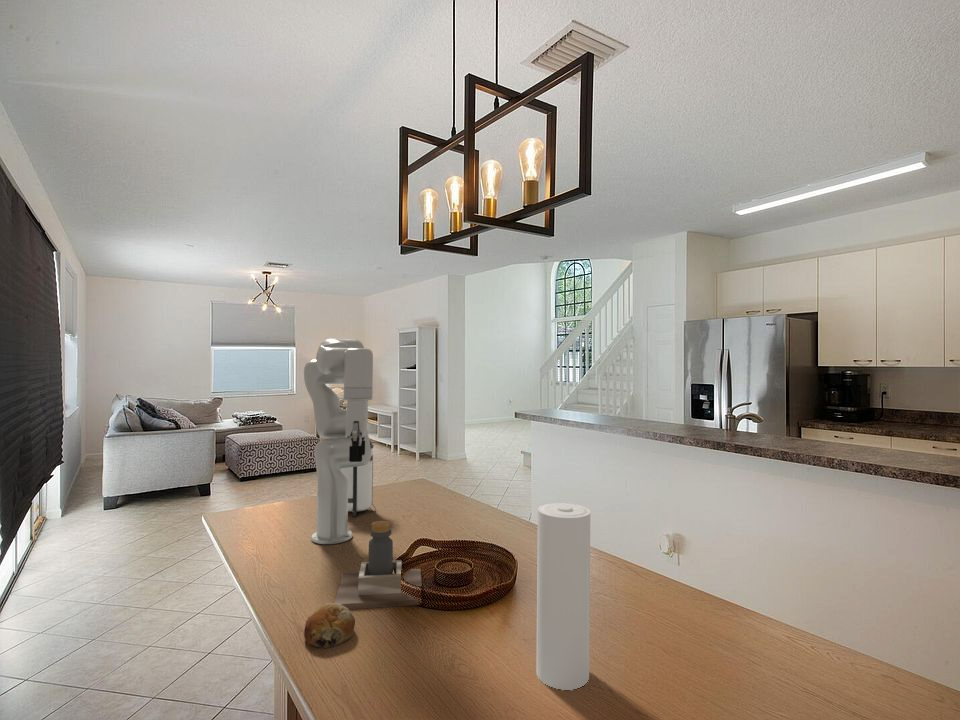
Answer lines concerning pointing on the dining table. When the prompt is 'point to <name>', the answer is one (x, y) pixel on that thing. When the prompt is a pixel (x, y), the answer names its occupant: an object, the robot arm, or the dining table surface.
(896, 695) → the dining table surface
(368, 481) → the coffee press
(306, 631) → the bread roll
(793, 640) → the dining table surface
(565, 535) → the cylinder container
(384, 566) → the bottle
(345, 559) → the dining table surface
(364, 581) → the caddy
